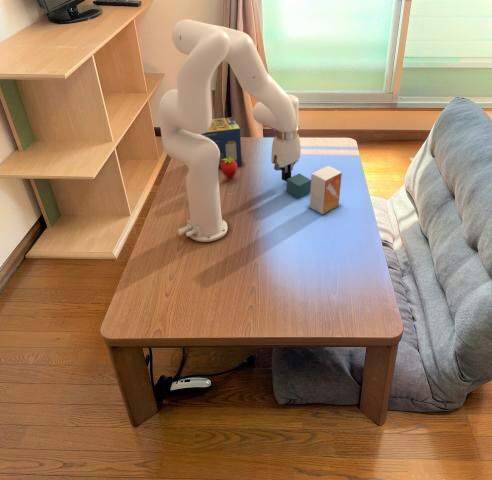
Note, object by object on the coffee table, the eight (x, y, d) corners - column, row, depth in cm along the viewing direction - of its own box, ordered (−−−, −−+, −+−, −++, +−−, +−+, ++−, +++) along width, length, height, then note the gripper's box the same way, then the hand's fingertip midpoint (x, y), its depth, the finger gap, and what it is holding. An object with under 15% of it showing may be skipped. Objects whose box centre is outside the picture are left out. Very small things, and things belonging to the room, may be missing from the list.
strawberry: (221, 185, 174) (219, 160, 168) (222, 174, 180) (220, 150, 174) (238, 184, 175) (236, 159, 168) (238, 174, 181) (237, 149, 174)
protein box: (197, 158, 190) (193, 121, 180) (236, 153, 193) (234, 116, 184) (202, 171, 182) (198, 133, 172) (242, 165, 186) (240, 127, 176)
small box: (323, 215, 160) (325, 180, 152) (309, 207, 164) (310, 173, 156) (339, 205, 165) (342, 172, 157) (325, 198, 168) (327, 164, 160)
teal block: (298, 198, 168) (298, 185, 165) (286, 191, 172) (286, 179, 168) (310, 192, 171) (311, 179, 168) (298, 185, 175) (299, 173, 172)
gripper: (295, 122, 169) (294, 169, 180) (262, 135, 161) (263, 183, 172) (310, 129, 165) (308, 177, 176) (277, 143, 157) (277, 191, 168)
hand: (286, 180), depth 174 cm, fingers closed
